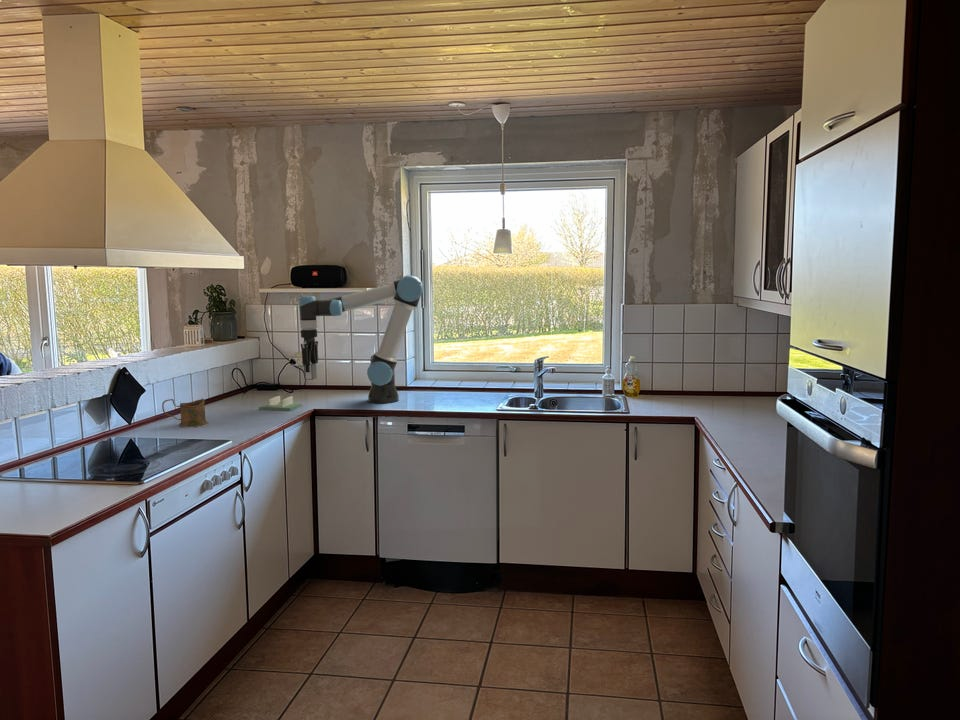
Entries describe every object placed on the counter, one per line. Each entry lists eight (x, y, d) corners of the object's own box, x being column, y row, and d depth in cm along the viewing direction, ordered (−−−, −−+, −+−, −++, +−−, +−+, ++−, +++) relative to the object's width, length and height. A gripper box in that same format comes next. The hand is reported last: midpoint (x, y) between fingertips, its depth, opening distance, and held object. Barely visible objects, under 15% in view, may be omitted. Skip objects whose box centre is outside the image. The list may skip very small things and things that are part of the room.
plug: (316, 378, 340) (316, 363, 339) (312, 379, 336) (312, 365, 335) (308, 378, 341) (307, 363, 340) (304, 379, 337) (303, 364, 336)
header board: (302, 405, 343) (301, 396, 343) (290, 410, 332) (289, 400, 331) (272, 404, 347) (271, 395, 346) (259, 409, 335) (258, 399, 335)
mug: (160, 426, 302) (159, 398, 300) (203, 420, 312) (202, 393, 311) (167, 431, 293) (165, 402, 291) (211, 425, 303) (209, 397, 301)
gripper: (309, 327, 344) (312, 375, 348) (292, 330, 328) (295, 380, 331) (324, 327, 343) (326, 375, 346) (307, 330, 326) (310, 381, 329)
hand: (311, 377), depth 338 cm, fingers closed on plug, 4 cm apart
